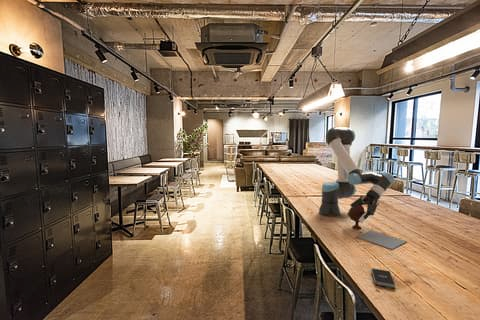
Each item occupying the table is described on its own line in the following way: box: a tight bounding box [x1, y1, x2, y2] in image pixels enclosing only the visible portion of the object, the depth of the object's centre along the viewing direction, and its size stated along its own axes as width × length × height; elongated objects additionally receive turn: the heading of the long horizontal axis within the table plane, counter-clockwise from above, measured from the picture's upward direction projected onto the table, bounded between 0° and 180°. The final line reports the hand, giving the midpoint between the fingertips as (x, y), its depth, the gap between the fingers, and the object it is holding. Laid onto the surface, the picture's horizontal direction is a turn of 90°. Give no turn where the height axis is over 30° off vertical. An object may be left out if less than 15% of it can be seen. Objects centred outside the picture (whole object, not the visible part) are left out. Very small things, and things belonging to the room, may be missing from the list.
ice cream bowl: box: [347, 205, 366, 231], centre depth 161 cm, size 11×11×15 cm
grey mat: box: [354, 229, 408, 251], centre depth 143 cm, size 20×17×1 cm
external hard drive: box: [371, 268, 396, 290], centre depth 103 cm, size 7×11×2 cm, turn 160°
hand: (353, 218), depth 160 cm, fingers closed on ice cream bowl, 11 cm apart
